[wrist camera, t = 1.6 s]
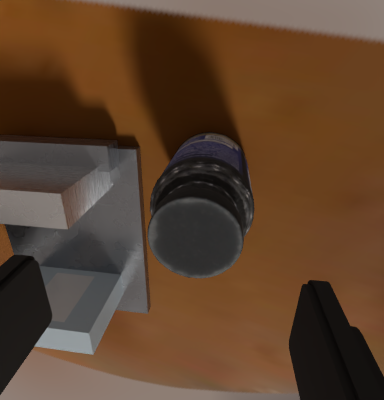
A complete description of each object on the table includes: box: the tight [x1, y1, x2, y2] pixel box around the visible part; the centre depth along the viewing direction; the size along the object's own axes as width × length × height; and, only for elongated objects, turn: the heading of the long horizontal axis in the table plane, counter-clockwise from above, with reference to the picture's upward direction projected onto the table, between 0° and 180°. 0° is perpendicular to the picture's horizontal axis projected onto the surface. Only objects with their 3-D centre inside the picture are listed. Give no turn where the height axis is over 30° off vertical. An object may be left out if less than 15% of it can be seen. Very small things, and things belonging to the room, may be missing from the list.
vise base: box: [0, 135, 150, 314], centre depth 24 cm, size 14×19×8 cm
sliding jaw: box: [35, 266, 123, 354], centre depth 26 cm, size 9×2×7 cm, turn 89°
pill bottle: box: [148, 132, 254, 278], centre depth 18 cm, size 6×6×11 cm
